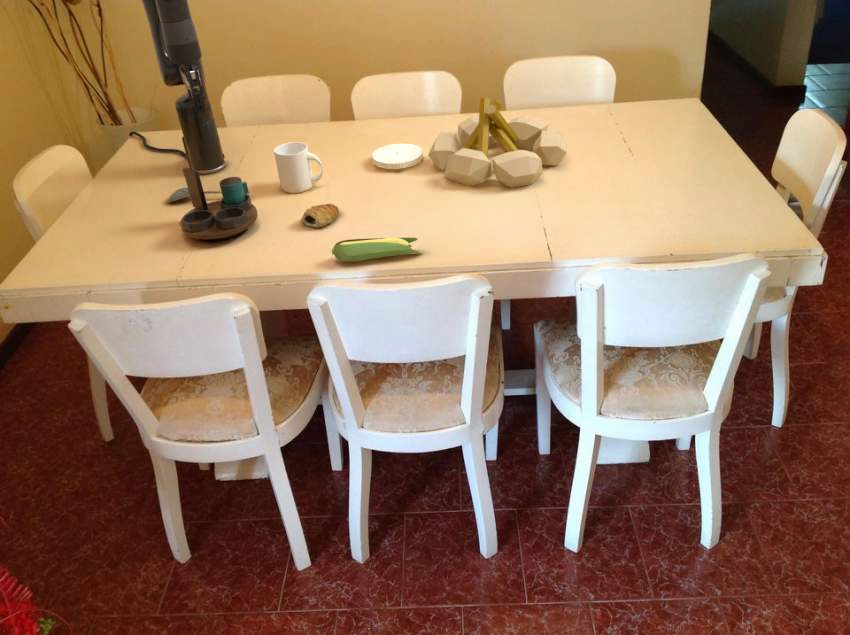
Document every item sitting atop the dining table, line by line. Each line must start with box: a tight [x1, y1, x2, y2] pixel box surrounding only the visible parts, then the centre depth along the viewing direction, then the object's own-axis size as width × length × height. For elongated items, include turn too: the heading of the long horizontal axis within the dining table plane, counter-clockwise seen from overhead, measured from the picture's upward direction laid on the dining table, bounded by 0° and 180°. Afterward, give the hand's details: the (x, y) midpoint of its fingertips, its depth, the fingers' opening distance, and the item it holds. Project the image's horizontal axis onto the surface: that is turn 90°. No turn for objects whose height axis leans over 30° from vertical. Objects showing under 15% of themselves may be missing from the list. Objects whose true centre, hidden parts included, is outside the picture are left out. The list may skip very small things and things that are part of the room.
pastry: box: [300, 203, 340, 229], centre depth 175 cm, size 9×7×4 cm
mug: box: [273, 141, 324, 194], centre depth 190 cm, size 9×12×11 cm
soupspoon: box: [167, 187, 251, 203], centre depth 190 cm, size 22×3×7 cm
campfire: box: [427, 97, 568, 189], centre depth 192 cm, size 35×34×17 cm
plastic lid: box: [371, 142, 424, 170], centre depth 201 cm, size 14×14×2 cm
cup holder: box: [179, 166, 259, 240], centre depth 172 cm, size 19×18×11 cm
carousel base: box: [197, 227, 250, 244], centre depth 175 cm, size 13×13×2 cm
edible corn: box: [331, 237, 426, 263], centre depth 158 cm, size 5×20×5 cm, turn 94°
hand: (198, 107), depth 181 cm, fingers open, 8 cm apart
